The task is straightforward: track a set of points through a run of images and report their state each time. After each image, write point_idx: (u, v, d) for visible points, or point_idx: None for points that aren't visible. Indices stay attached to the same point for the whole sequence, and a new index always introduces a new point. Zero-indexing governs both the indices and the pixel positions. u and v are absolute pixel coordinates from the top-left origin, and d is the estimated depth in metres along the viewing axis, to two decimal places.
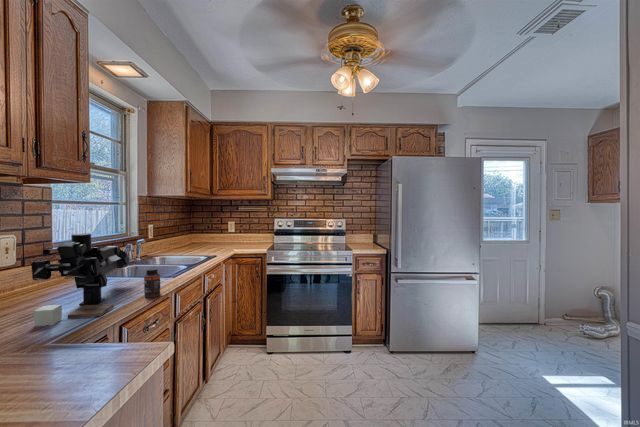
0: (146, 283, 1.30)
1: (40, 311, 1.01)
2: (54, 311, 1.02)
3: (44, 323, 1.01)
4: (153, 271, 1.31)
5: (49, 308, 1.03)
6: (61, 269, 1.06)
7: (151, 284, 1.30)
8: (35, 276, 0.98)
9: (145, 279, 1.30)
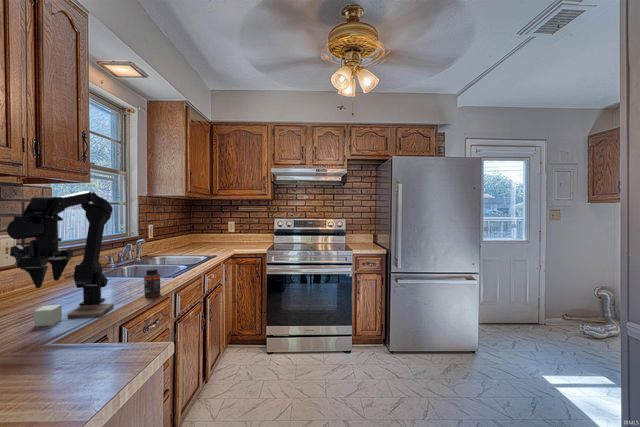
0: (146, 283, 1.30)
1: (40, 311, 1.01)
2: (54, 311, 1.02)
3: (44, 323, 1.01)
4: (153, 271, 1.31)
5: (49, 308, 1.02)
6: (49, 259, 1.04)
7: (151, 284, 1.30)
8: (56, 279, 1.07)
9: (145, 279, 1.30)
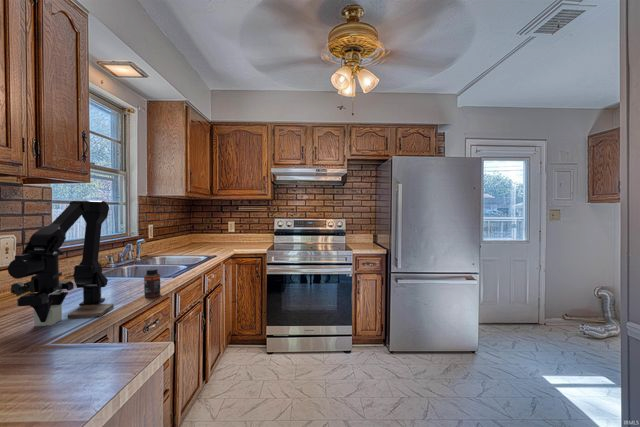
0: (146, 283, 1.30)
1: None
2: (54, 311, 1.02)
3: (44, 323, 1.01)
4: (153, 271, 1.31)
5: None
6: None
7: (151, 284, 1.30)
8: None
9: (145, 279, 1.30)
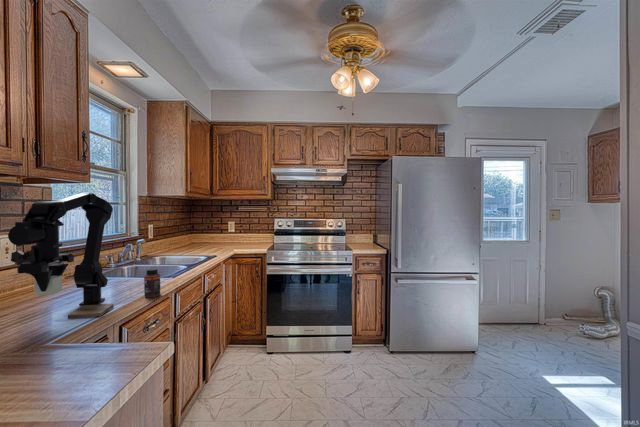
0: (146, 283, 1.30)
1: None
2: (54, 280, 1.02)
3: (44, 292, 1.01)
4: (153, 271, 1.31)
5: None
6: (50, 264, 1.04)
7: (151, 284, 1.30)
8: None
9: (145, 279, 1.30)
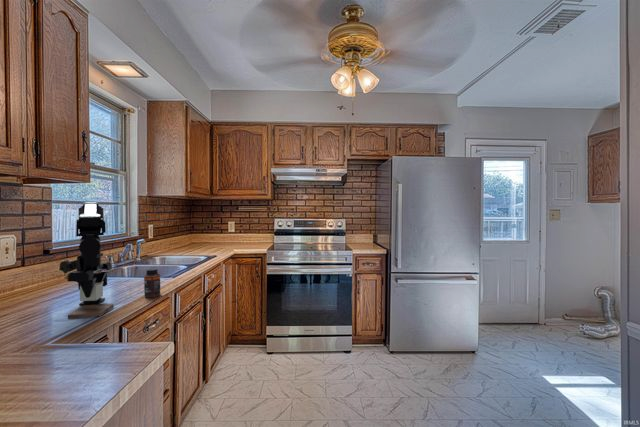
0: (146, 283, 1.30)
1: None
2: (97, 287, 1.12)
3: (89, 298, 1.10)
4: (153, 271, 1.31)
5: None
6: None
7: (151, 284, 1.30)
8: None
9: (145, 279, 1.30)
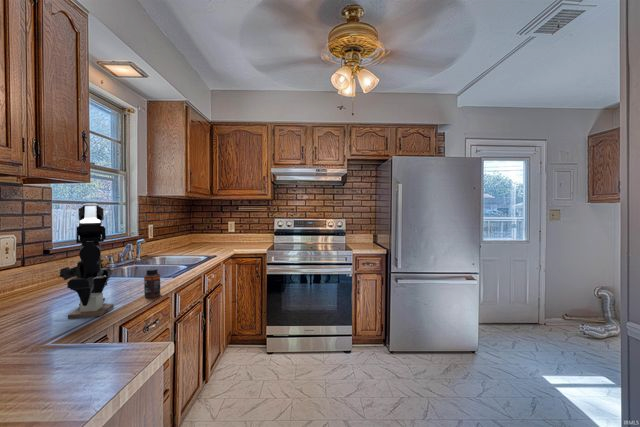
0: (146, 283, 1.30)
1: None
2: (97, 298, 1.12)
3: (89, 309, 1.11)
4: (153, 271, 1.31)
5: (93, 295, 1.12)
6: None
7: (151, 284, 1.30)
8: None
9: (145, 279, 1.30)
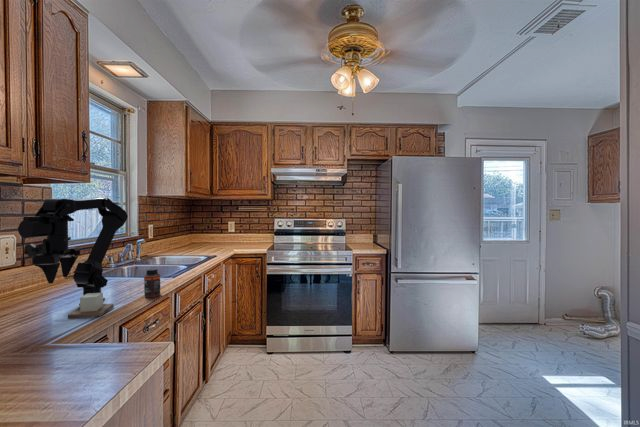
0: (146, 283, 1.30)
1: (85, 298, 1.10)
2: (97, 298, 1.12)
3: (89, 309, 1.11)
4: (153, 271, 1.31)
5: (93, 295, 1.12)
6: (60, 257, 1.11)
7: (151, 284, 1.30)
8: (65, 275, 1.14)
9: (145, 279, 1.30)
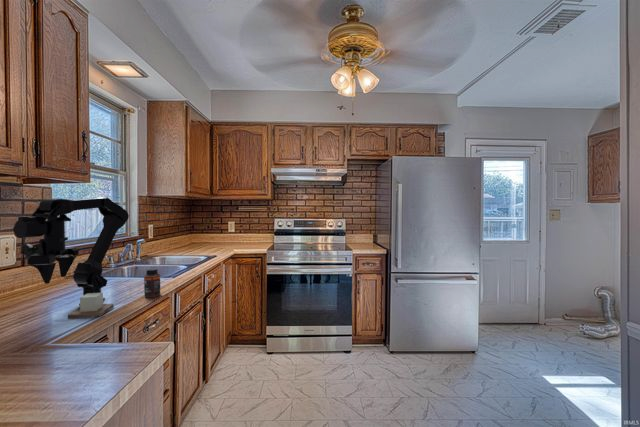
0: (146, 283, 1.30)
1: (85, 298, 1.10)
2: (97, 298, 1.12)
3: (89, 309, 1.11)
4: (153, 271, 1.31)
5: (93, 295, 1.12)
6: (57, 257, 1.11)
7: (151, 284, 1.30)
8: (63, 275, 1.15)
9: (145, 279, 1.30)
